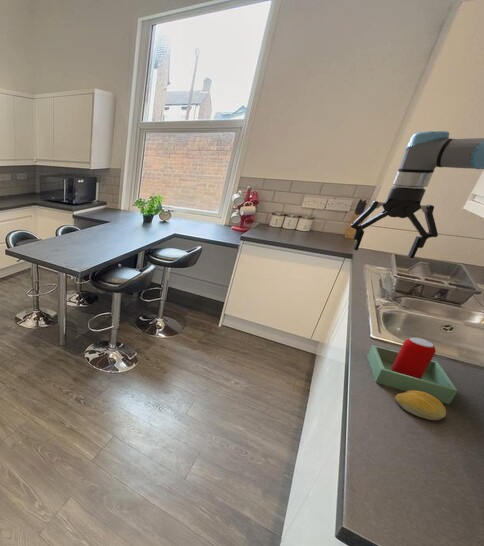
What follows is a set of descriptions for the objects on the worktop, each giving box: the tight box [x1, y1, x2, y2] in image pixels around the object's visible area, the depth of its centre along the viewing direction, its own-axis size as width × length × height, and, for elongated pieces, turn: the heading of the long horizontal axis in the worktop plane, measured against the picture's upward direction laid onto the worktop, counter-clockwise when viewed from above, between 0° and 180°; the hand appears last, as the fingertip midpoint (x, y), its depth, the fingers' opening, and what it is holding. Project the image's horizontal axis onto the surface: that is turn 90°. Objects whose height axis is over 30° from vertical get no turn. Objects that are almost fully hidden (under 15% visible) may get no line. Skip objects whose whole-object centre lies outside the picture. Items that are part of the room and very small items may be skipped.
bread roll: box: [394, 390, 447, 421], centre depth 79 cm, size 8×9×4 cm
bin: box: [366, 344, 458, 405], centre depth 90 cm, size 15×15×5 cm
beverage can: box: [391, 337, 436, 379], centre depth 88 cm, size 6×6×12 cm
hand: (382, 253), depth 102 cm, fingers open, 13 cm apart
